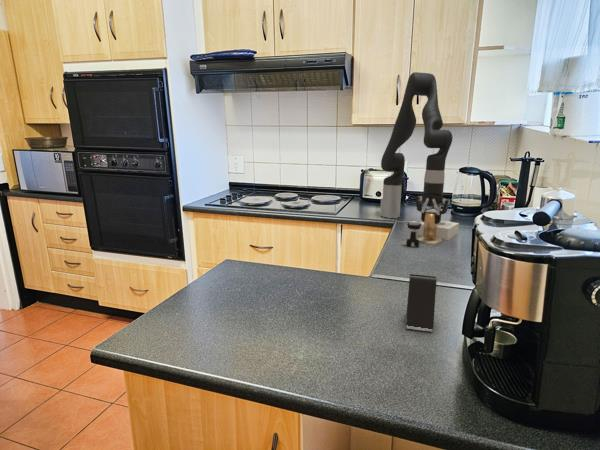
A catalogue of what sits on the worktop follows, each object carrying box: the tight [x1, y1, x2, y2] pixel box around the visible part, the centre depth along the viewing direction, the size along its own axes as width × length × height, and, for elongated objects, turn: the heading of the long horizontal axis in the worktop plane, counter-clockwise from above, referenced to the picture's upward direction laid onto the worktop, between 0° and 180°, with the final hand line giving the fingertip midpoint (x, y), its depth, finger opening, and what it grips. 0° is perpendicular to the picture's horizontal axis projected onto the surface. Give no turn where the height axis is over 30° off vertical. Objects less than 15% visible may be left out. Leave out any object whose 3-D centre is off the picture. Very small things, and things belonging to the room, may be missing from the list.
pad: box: [418, 236, 443, 246], centre depth 161 cm, size 8×8×1 cm
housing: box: [418, 219, 460, 241], centre depth 171 cm, size 13×13×5 cm
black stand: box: [401, 220, 421, 248], centre depth 153 cm, size 7×5×10 cm
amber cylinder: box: [423, 210, 437, 239], centre depth 159 cm, size 5×5×10 cm
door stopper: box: [405, 273, 437, 330], centre depth 92 cm, size 9×6×12 cm, turn 164°
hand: (430, 222), depth 159 cm, fingers closed on amber cylinder, 5 cm apart
